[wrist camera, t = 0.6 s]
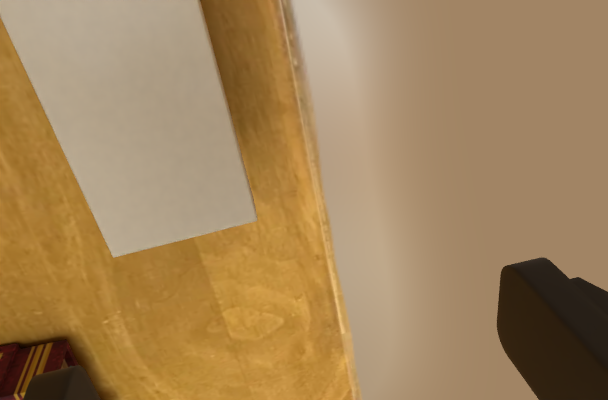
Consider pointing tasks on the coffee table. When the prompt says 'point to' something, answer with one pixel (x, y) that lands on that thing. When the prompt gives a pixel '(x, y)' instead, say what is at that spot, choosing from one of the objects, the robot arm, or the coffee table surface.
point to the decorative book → (30, 365)
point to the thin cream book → (136, 114)
